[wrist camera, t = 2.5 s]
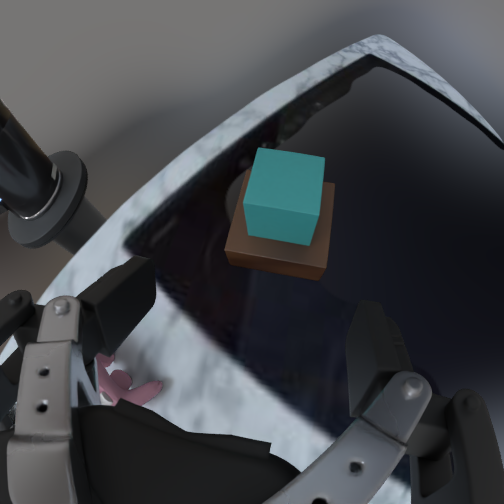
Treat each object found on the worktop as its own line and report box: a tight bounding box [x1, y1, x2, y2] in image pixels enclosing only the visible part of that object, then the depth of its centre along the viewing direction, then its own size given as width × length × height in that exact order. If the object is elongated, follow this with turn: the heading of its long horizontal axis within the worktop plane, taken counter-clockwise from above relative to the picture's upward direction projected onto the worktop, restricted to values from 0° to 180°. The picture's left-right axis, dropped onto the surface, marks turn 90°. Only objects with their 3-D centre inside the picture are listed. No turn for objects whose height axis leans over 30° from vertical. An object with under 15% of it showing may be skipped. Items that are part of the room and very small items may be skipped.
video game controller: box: [96, 353, 163, 406], centre depth 23 cm, size 10×5×7 cm, turn 42°
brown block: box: [225, 170, 335, 281], centre depth 28 cm, size 9×9×4 cm
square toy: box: [243, 148, 325, 246], centre depth 23 cm, size 6×6×6 cm
